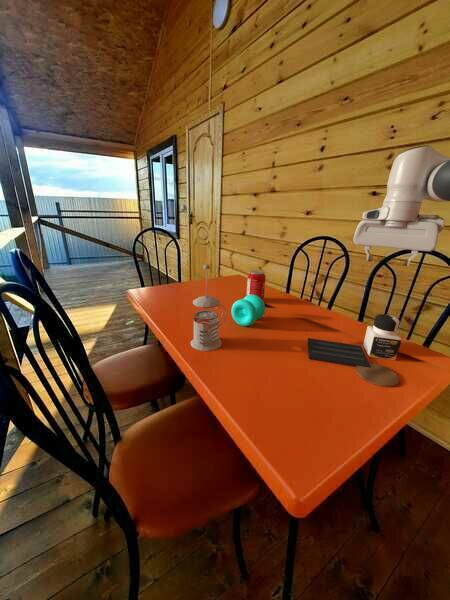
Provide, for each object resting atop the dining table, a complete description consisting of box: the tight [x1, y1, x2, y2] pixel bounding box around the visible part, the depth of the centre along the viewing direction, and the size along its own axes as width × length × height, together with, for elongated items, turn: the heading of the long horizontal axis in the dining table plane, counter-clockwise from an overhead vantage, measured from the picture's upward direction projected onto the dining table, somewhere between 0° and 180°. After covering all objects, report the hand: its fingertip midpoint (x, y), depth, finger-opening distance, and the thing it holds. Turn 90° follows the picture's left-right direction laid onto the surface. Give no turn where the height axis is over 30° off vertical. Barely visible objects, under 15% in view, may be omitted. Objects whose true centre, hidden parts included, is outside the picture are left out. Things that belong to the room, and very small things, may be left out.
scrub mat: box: [307, 337, 371, 368], centre depth 76 cm, size 16×12×1 cm
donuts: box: [230, 295, 266, 327], centre depth 94 cm, size 10×10×10 cm
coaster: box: [354, 362, 400, 388], centre depth 67 cm, size 10×10×1 cm
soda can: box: [245, 269, 267, 303], centre depth 112 cm, size 8×8×15 cm
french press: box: [190, 263, 227, 352], centre depth 76 cm, size 10×12×25 cm
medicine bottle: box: [362, 313, 402, 361], centre depth 75 cm, size 7×7×12 cm
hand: (386, 263), depth 75 cm, fingers open, 8 cm apart
